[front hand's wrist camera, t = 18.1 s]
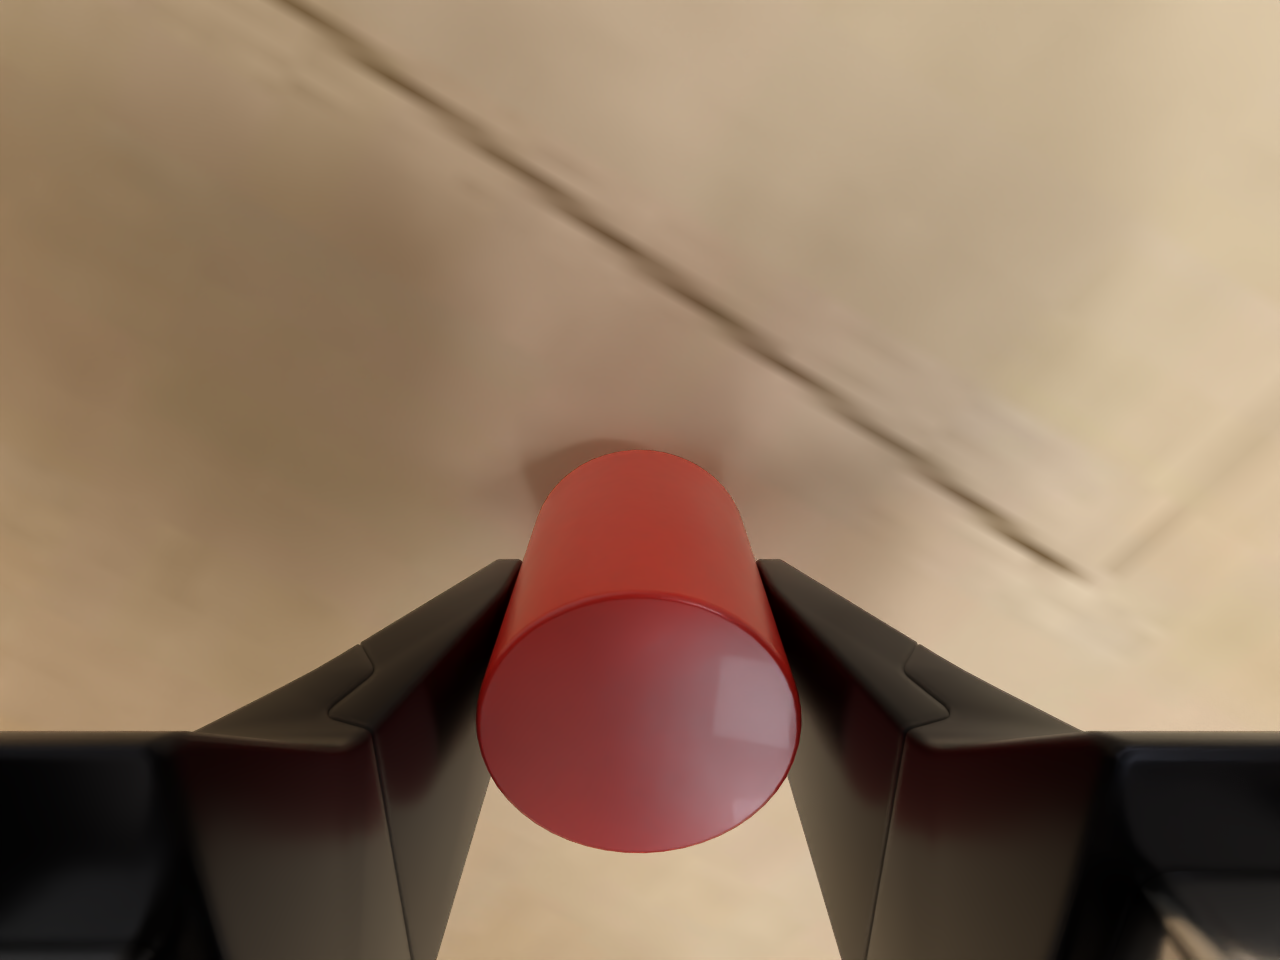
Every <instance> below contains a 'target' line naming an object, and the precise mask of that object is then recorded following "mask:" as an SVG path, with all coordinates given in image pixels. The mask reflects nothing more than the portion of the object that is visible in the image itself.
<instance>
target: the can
mask: <svg viewBox="0 0 1280 960" xmlns="http://www.w3.org/2000/svg"><path fill="white" fill-rule="evenodd" d="M801 727H802V717H801V704H800V699H799V694H798V690H797V687H796V684H795V680H794V677H793V674H792V671H791V668H790V665H789V662H788V659H787V656H786V653H785V650H784V647H783V644H782V641H781V638H780V635H779V632H778V629H777V626H776V623H775V620H774V617H773V614H772V610H771V607H770V604H769V601H768V598H767V595H766V592H765V589H764V586H763V583H762V580H761V577H760V574H759V571H758V568H757V565H756V562H755V559H754V556H753V553H752V550H751V547H750V543H749V540H748V537H747V534H746V531H745V528H744V525H743V522H742V519H741V517H740V514H739V511H738V509H737V507H736V505H735V503H734V501H733V499H732V498H731V496H730V495H729V494H728V492H727V491H726V490H725V488H724V487H723V486H722V485H721V484H720V483H719V482H718V481H717V480H716V479H715V478H714V477H713V476H712V475H710V474H709V473H708V472H706V471H705V470H704V469H702V468H701V467H699V466H697V465H696V464H694V463H692V462H690V461H688V460H685V459H683V458H681V457H678V456H675V455H671V454H668V453H664V452H658V451H651V450H628V451H619V452H615V453H611V454H606V455H603V456H601V457H598V458H595V459H592V460H590V461H589V462H587V463H585V464H583V465H581V466H579V467H578V468H576V469H575V470H573V471H572V472H571V473H569V474H568V475H567V476H566V477H565V478H563V479H562V480H561V481H560V482H559V483H558V484H557V485H556V487H555V488H554V489H553V490H552V491H551V493H550V494H549V496H548V497H547V499H546V500H545V502H544V504H543V505H542V508H541V510H540V512H539V515H538V517H537V520H536V523H535V526H534V529H533V532H532V535H531V538H530V541H529V544H528V547H527V550H526V553H525V556H524V559H523V562H522V565H521V568H520V571H519V574H518V577H517V580H516V583H515V586H514V589H513V592H512V595H511V598H510V601H509V604H508V607H507V610H506V613H505V616H504V619H503V622H502V625H501V628H500V631H499V634H498V637H497V640H496V643H495V646H494V649H493V652H492V655H491V658H490V661H489V664H488V667H487V670H486V673H485V676H484V679H483V681H482V684H481V688H480V692H479V696H478V700H477V709H476V731H477V738H478V743H479V747H480V751H481V755H482V757H483V760H484V762H485V765H486V767H487V770H488V772H489V774H490V775H491V777H492V779H493V780H494V782H495V784H496V785H497V787H498V788H499V789H500V791H501V792H502V793H503V794H504V796H505V797H506V798H507V799H508V800H509V801H510V802H511V803H512V804H513V805H514V806H515V807H516V808H517V809H518V810H519V811H520V812H521V813H522V814H524V815H525V816H526V817H528V818H529V819H530V820H532V821H533V822H534V823H536V824H538V825H539V826H541V827H543V828H544V829H546V830H548V831H550V832H551V833H553V834H556V835H558V836H560V837H562V838H565V839H567V840H569V841H572V842H575V843H578V844H582V845H585V846H588V847H593V848H597V849H602V850H607V851H615V852H624V853H651V852H664V851H670V850H676V849H681V848H686V847H689V846H693V845H696V844H700V843H703V842H705V841H708V840H710V839H713V838H715V837H718V836H720V835H722V834H724V833H726V832H728V831H730V830H732V829H734V828H735V827H737V826H738V825H740V824H741V823H743V822H744V821H746V820H747V819H749V818H750V817H752V816H753V815H754V814H755V813H756V812H757V811H758V810H760V809H761V808H762V807H763V806H764V805H765V804H766V803H767V802H768V801H769V800H770V799H771V797H772V796H773V795H774V794H775V793H776V792H777V790H778V789H779V787H780V786H781V784H782V783H783V781H784V780H785V778H786V777H787V775H788V772H789V770H790V768H791V766H792V764H793V762H794V759H795V755H796V752H797V749H798V746H799V742H800V734H801Z"/></svg>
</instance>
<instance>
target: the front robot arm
mask: <svg viewBox="0 0 1280 960" xmlns="http://www.w3.org/2000/svg"><path fill="white" fill-rule="evenodd" d="M521 565H522V561H521V560H519V559H499V560H496V561H494V562H493V563H491V564H489V565H488V566H486V567H485V568H483V569H481V570H480V571H478V572H476V573H475V574H473V575H471V576H470V577H468V578H466V579H465V580H463V581H461V582H460V583H458V584H457V585H455V586H453V587H452V588H450V589H448V590H447V591H445V592H443V593H442V594H440V595H438V596H437V597H435V598H433V599H432V600H430V601H428V602H427V603H425V604H423V605H422V606H420V607H419V608H417V609H415V610H414V611H412V612H410V613H409V614H407V615H405V616H404V617H402V618H400V619H399V620H397V621H395V622H394V623H392V624H390V625H389V626H387V627H386V628H384V629H382V630H381V631H379V632H377V633H376V634H374V635H372V636H371V637H369V638H367V639H366V640H364V641H362V642H361V644H360V645H359V644H358V645H356V646H354V647H352V648H351V649H349V650H348V651H346V652H344V653H343V654H341V655H339V656H338V657H336V658H334V659H332V660H331V661H329V662H327V663H325V664H324V665H322V666H320V667H319V668H317V669H315V670H313V671H311V672H310V673H308V674H306V675H304V676H302V677H300V678H298V679H296V680H294V681H292V682H290V683H289V684H287V685H285V686H283V687H281V688H279V689H277V690H275V691H273V692H271V693H269V694H267V695H265V696H263V697H261V698H259V699H257V700H255V701H253V702H251V703H250V704H248V705H246V706H244V707H242V708H240V709H238V710H236V711H234V712H232V713H230V714H228V715H226V716H224V717H222V718H220V719H218V720H216V721H214V722H212V723H210V724H208V725H206V726H204V727H202V728H200V729H198V730H196V731H194V732H189V731H0V960H436V959H437V955H438V952H439V949H440V945H441V942H442V938H443V935H444V932H445V928H446V925H447V922H448V918H449V915H450V912H451V908H452V905H453V901H454V898H455V895H456V891H457V888H458V885H459V881H460V878H461V875H462V871H463V868H464V864H465V861H466V858H467V854H468V851H469V848H470V844H471V841H472V837H473V834H474V831H475V827H476V824H477V821H478V817H479V814H480V811H481V807H482V804H483V800H484V797H485V794H486V790H487V787H488V784H489V780H490V777H491V775H490V774H489V772H488V770H487V767H486V765H485V762H484V760H483V757H482V755H481V751H480V747H479V743H478V738H477V731H476V709H477V700H478V696H479V692H480V688H481V684H482V681H483V679H484V676H485V673H486V670H487V667H488V664H489V661H490V658H491V655H492V652H493V649H494V646H495V643H496V640H497V637H498V634H499V631H500V628H501V625H502V622H503V619H504V616H505V613H506V610H507V607H508V604H509V601H510V598H511V595H512V592H513V589H514V586H515V583H516V580H517V577H518V574H519V571H520V568H521ZM756 565H757V568H758V571H759V574H760V577H761V580H762V583H763V586H764V589H765V592H766V595H767V598H768V601H769V604H770V607H771V610H772V614H773V617H774V620H775V623H776V626H777V629H778V632H779V635H780V638H781V641H782V644H783V647H784V650H785V653H786V656H787V659H788V662H789V665H790V668H791V671H792V674H793V677H794V680H795V684H796V687H797V690H798V694H799V699H800V704H801V717H802V727H801V734H800V742H799V746H798V749H797V752H796V755H795V759H794V762H793V764H792V766H791V768H790V770H789V772H788V775H787V776H788V780H789V783H790V786H791V790H792V793H793V797H794V800H795V803H796V807H797V810H798V813H799V817H800V820H801V824H802V827H803V830H804V834H805V837H806V841H807V844H808V847H809V851H810V854H811V858H812V861H813V864H814V868H815V871H816V874H817V878H818V881H819V885H820V888H821V891H822V895H823V898H824V902H825V905H826V908H827V912H828V915H829V919H830V922H831V925H832V929H833V932H834V936H835V939H836V942H837V946H838V949H839V952H840V956H841V959H842V960H1280V731H1086V732H1083V731H1081V730H1079V729H1077V728H1075V727H1073V726H1071V725H1069V724H1067V723H1065V722H1063V721H1061V720H1059V719H1057V718H1055V717H1053V716H1051V715H1049V714H1048V713H1046V712H1044V711H1042V710H1040V709H1038V708H1036V707H1034V706H1032V705H1030V704H1028V703H1026V702H1024V701H1022V700H1020V699H1018V698H1016V697H1014V696H1012V695H1010V694H1008V693H1006V692H1004V691H1002V690H1000V689H998V688H997V687H995V686H993V685H991V684H989V683H987V682H985V681H983V680H981V679H980V678H978V677H976V676H974V675H972V674H970V673H968V672H966V671H964V670H963V669H961V668H959V667H957V666H956V665H954V664H952V663H951V662H949V661H947V660H945V659H944V658H942V657H940V656H938V655H937V654H935V653H934V652H932V651H930V650H929V649H927V648H926V647H924V646H922V645H920V644H919V645H918V644H917V642H915V641H914V640H912V639H911V638H909V637H907V636H906V635H904V634H902V633H901V632H899V631H897V630H896V629H894V628H892V627H891V626H889V625H888V624H886V623H884V622H883V621H881V620H879V619H878V618H876V617H874V616H873V615H871V614H869V613H868V612H866V611H865V610H863V609H861V608H860V607H858V606H856V605H855V604H853V603H851V602H850V601H848V600H846V599H845V598H843V597H842V596H840V595H838V594H837V593H835V592H833V591H832V590H830V589H828V588H827V587H825V586H823V585H822V584H820V583H819V582H817V581H815V580H814V579H812V578H810V577H809V576H807V575H805V574H804V573H802V572H800V571H799V570H797V569H796V568H794V567H792V566H791V565H789V564H787V563H786V562H784V561H782V560H780V559H759V560H757V561H756Z"/></svg>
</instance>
